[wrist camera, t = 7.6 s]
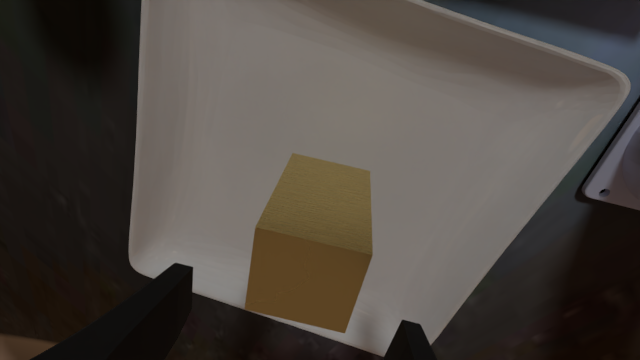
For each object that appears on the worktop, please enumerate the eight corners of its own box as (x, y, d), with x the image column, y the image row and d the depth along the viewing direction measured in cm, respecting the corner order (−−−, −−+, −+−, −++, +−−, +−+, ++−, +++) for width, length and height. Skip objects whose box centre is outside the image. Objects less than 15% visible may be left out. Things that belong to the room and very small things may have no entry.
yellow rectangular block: (369, 171, 17) (372, 255, 11) (351, 233, 19) (344, 333, 13) (292, 152, 17) (255, 226, 11) (281, 217, 19) (244, 309, 13)
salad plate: (151, 244, 26) (122, 276, 23) (184, -92, 16) (140, -116, 13) (409, 330, 26) (415, 372, 23) (597, 63, 16) (649, 76, 13)
